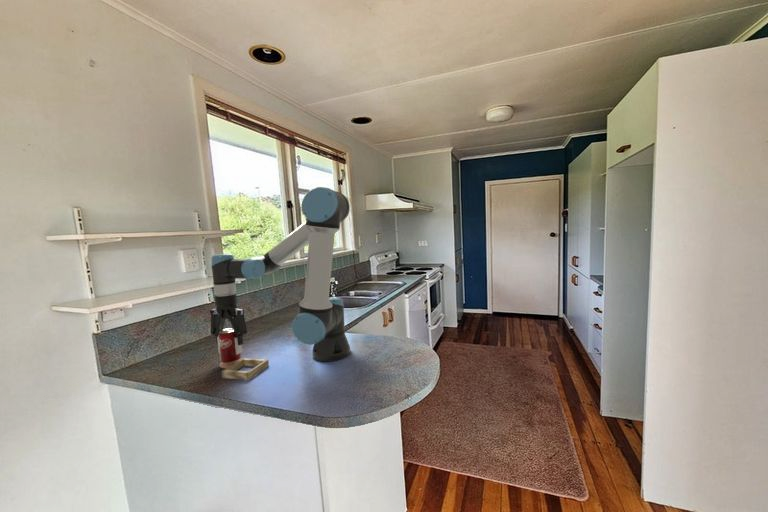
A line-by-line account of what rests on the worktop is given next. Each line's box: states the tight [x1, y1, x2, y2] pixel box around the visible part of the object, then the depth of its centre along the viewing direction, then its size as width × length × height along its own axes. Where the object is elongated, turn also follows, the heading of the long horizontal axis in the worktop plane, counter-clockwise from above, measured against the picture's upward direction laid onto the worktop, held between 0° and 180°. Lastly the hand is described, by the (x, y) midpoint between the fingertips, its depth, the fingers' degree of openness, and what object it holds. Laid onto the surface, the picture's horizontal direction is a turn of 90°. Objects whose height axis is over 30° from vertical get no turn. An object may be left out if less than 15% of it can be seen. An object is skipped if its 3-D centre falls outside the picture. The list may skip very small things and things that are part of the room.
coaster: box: [219, 358, 242, 369], centre depth 118 cm, size 8×8×1 cm
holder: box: [221, 357, 270, 381], centre depth 110 cm, size 11×11×2 cm
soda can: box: [218, 327, 242, 364], centre depth 118 cm, size 7×7×12 cm
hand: (230, 352), depth 118 cm, fingers closed on soda can, 7 cm apart
